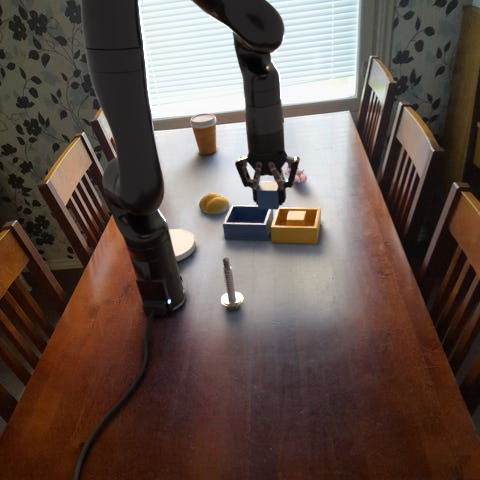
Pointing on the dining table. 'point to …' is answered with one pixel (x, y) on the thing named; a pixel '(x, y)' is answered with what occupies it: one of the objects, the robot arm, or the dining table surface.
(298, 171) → the pink flower bud
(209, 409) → the dining table surface
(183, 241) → the plastic lid
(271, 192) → the blue block
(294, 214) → the ochre block
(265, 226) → the blue bin
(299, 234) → the ochre bin
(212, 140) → the disposable coffee cup
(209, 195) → the bread roll
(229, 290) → the screw
